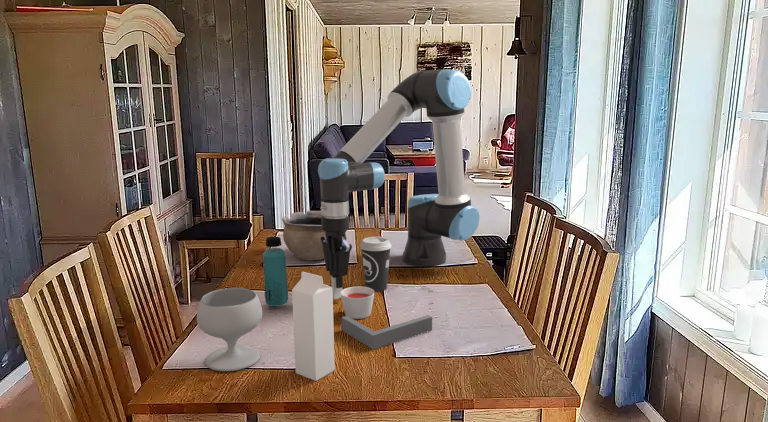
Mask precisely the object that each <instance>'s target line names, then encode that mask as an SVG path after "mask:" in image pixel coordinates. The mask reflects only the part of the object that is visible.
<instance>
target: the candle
mask: <svg viewBox="0 0 768 422" xmlns="http://www.w3.org/2000/svg"><path fill="white" fill-rule="evenodd" d="M375 292H376V291H374V290H373V289H371V288H368V287H365V286H360V285H358V286H351V287H346V288H344V289H343V290H342V291H341V298H340V299H341V302H342V306H343V310H344V315H345V316H348V317H350V318H352V319H354V320H361V319H366V318H368V317H370V315H371V313H372V310H373V305H374V298H375Z"/></svg>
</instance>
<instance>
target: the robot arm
mask: <svg viewBox="0 0 768 422" xmlns="http://www.w3.org/2000/svg"><path fill="white" fill-rule="evenodd" d="M471 97H472V88H471V84H470V80H469V79H468V77H467V76H466V75H464V73H463V72H462V71H459V70H455V69H448V68H447V69H445V68H444V69H435V70H434V69H433V70H419V71H416V72H414V73H411V74H410V75H409V76H407V77H406V78H405V79H403V80H402V81H401V82H400V83H399V84H397V85H395V87H394V88H393V89H392V90H391V91H390V92H389V93H388V95H387V101H385V102H384V103H383V105H381V107H380V108H379V109H378V110H377V111H376V112H375V113H374V114H373V115H372V116H371V117H370V118H369V119H368V121H366V123H364V125H363V126H362V127H361V128H360V129H359V130H358V131H357V132H356V133H355V134H354V135H353V136H352V138H350V139H349V140H348V141H347V143H345V144H344V146H343V147H342V148H341V149H340V150H339V151H338V152H337V153H336V154H335V155H334V156H333V157H326V158H324V159H322V160H321V161H320V162H319V164H318V168H317V173H318V177H319V185H320V186H319V187H320V205H321V206H320V209H321V210H320V211H321V214H322V215H323V217H322V218H321V220H322V230H323V231H325V236H323V237H321V242H322V245H323V251H324V258H325V259H324V264H325V270H326V272H328V273H329V275H330V279H331V280H330V281H331V282H330V283H331V287H332V292H333V300H338V299H342V298H341V291H342V290H343V287H344V286H343V285H344V284H343V278H344V277H345V276H347V275H348V272H349V266H350V265H349V264H350V257H351V251H352V250H353V244H351V243H348V242H347V233H346V232H347V231H348V230H349V229H350V217H349V215H350V205H349V203H350V202H349V201H350V198H349V196H350V195H349V193H354V192H362V191H368V190H370V191H372V190H374V189H379V188H381V186H382V185H383V184H384V182H385V179H386V177H385V174H386V173H385V170H384V168H383V166H382V165H381V164H380V163H378V162H370V161H368V162H365V161H366V160H367V158H368V157H370V155H371V154H372V153H374V151H375V150H376V149H377V148H378V147H379V146H380V144H382V142H383V141H384V140H385V139H386V138H387V137H388V136H389V135H390V133H392V132H393V131H394V130H395V129H396V128H397V126H398V125H399V124H400V123H401V122H402V121H403V120H404V119H405V118H409V117H411V115H412V114H413V113H414V112H415V111H418V110H420V109H425V111H426V117H427V118H428V119H429V120H430V121H432V132H433V133H432V134H433V144H434V156H435V165H436V166H435V168H436V179H437V188H438V189H437V190H438V191H437V192H438V193H430V194H419V195H412V196H411V197H409V199H408V201H407V202H408V203H407V241H406V243H405V248H404V251H403V253H402V260H403V261H404V262H405V263H406V264H408V265H413V266H421V267H429V266H430V267H431V266H438V265H442V264H444V263H445V262H446V261H447V253H446V250H445V246H444V242H443V239H442V237H443V238H446V239H448V238H449V239H451V240H452V241H466V240H468V239H470V238H471V237H472V236H474V235H475V233H476V231H477V229H478V227H479V224H480V219H481V218H480V217H481V216H480V213H479V210H478V209H477V208H476V206H473V205H472V200H471V199H472V197H471V196H470V195H469V194H468V193H467V192H466V184H465V183H466V182H465V171H464V170H465V169H464V155H463V142H462V129H461V128H462V127H461V118H462V117H463V115H465V108H466V107H467V106H468V105H469V103H470V100H471V99H472V98H471Z"/></svg>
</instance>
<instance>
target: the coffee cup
mask: <svg viewBox="0 0 768 422" xmlns="http://www.w3.org/2000/svg"><path fill="white" fill-rule="evenodd" d="M359 248H360V250H361V255H362V256H361V257H362V265H363V267H362V268H363V273H364V274H363V276H364V287H368V288H371V289H373V290H374V292H383V291H385V290H387V289H388V280H389V266H390V255H391V254H390V253H391V249H392V243H391V242H390V239H389V238H387V237H384V236H368V237H365V238H363V239H362V241H361V243H360V245H359Z"/></svg>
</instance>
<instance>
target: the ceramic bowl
mask: <svg viewBox="0 0 768 422" xmlns="http://www.w3.org/2000/svg"><path fill="white" fill-rule="evenodd" d="M322 217H323V215H322V214H321V210H307V211H306V212H305V213H304V212H302V211H297V212H292V213H291V214H290V218H289V217H287V216H286V215H285V216H283V217H282V218H281V220H282V223H283V225H284V226H283V232H282V238H283V242H284V244H285V245H286V247H287V249H288V251H290V252H291V254H292V255H294V256H295V257H296V258H299V259H301V260H304V261H318V260H319V261H321V260H325V258H324V251H323V245H322V242H321V237H323V236H325V231H323V230H322V220H321V218H322Z"/></svg>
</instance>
